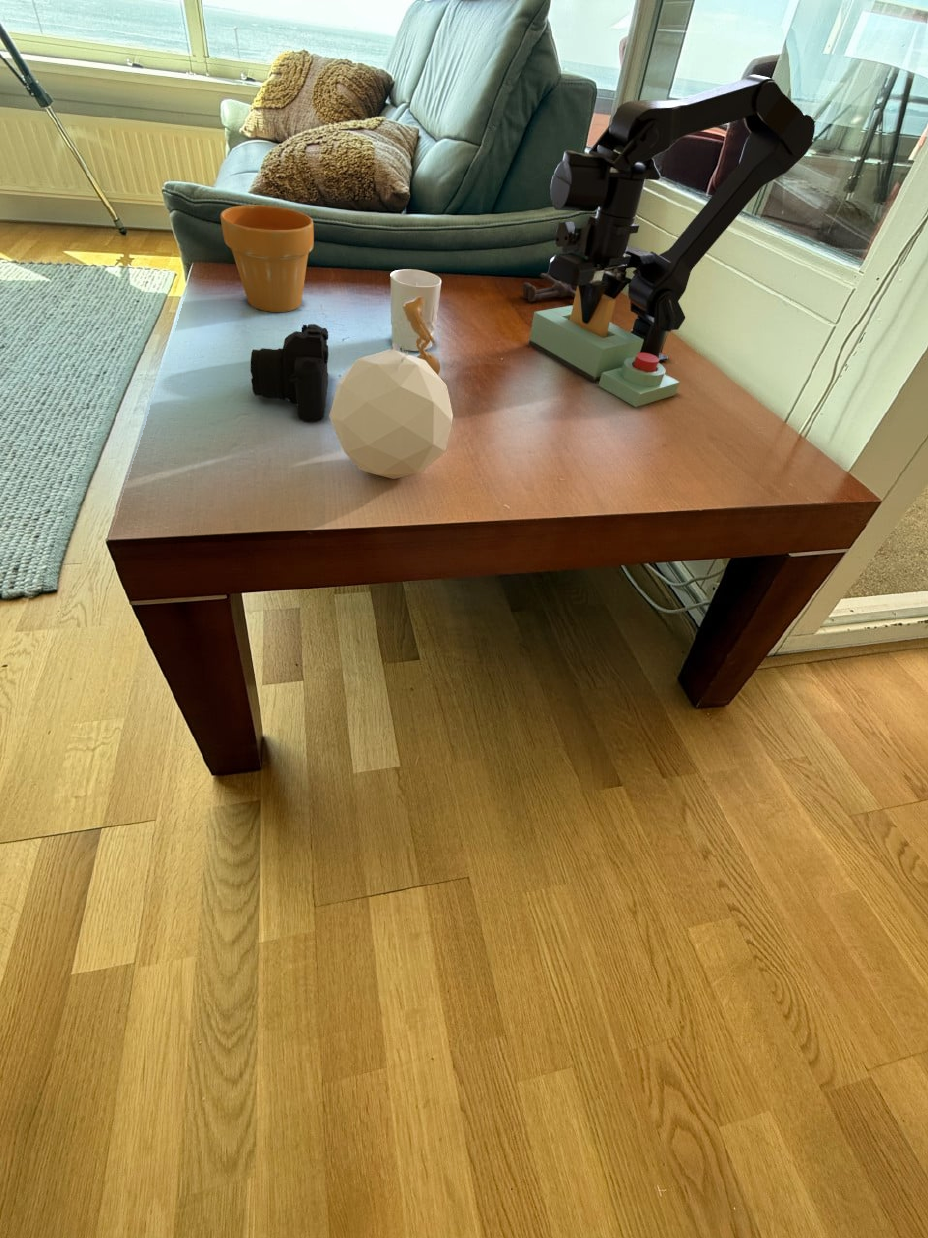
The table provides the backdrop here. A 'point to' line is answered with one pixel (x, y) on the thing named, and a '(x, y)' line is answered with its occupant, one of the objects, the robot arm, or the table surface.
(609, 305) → the toast
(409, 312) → the figurine
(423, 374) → the geodesic sphere
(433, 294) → the white cup
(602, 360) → the toaster
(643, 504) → the table surface
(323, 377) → the film camera
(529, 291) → the brown humanoid figure
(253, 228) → the flower pot
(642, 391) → the control block
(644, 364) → the button
